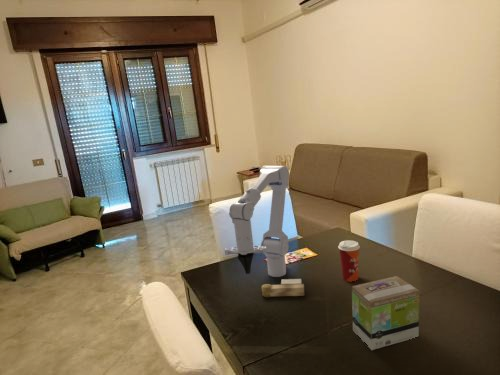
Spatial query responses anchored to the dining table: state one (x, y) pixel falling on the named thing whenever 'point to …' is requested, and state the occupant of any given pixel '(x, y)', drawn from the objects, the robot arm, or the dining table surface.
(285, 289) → the leg
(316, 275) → the dining table surface
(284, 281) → the block
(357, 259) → the paper cup
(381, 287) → the tea box
